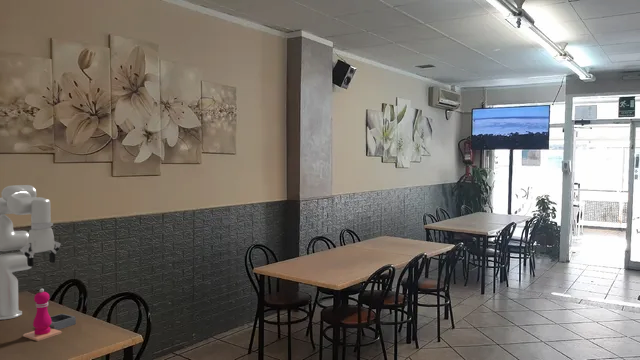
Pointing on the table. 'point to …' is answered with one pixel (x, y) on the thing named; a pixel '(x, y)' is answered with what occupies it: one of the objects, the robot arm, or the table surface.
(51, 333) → the plate
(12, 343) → the table surface
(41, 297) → the pepper mill
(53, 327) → the holder sleeve
